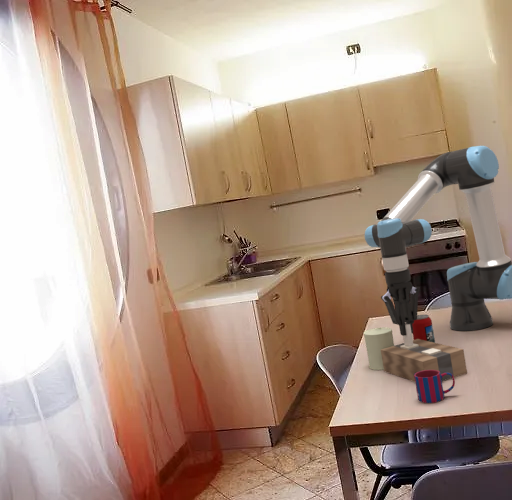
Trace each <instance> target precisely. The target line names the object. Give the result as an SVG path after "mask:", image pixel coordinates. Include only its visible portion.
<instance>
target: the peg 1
mask: <svg viewBox="0 0 512 500" xmlns="http://www.w3.org/2000/svg"><path fill="white" fill-rule="evenodd" d="M415 347H419V345H418V344H413V345H411V346H407V345H402V346H400V348H403V349H407V350H409V349H412V348H415Z"/></svg>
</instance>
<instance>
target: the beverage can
mask: <svg viewBox="0 0 512 500" xmlns="http://www.w3.org/2000/svg"><path fill="white" fill-rule="evenodd" d="M412 326H413V333H412V338H413V340H416V339H421V340H425V341H429V342H434V343H436V340H435V334H434V328H433V327H434V326H433V322H432V318H431V317H430V315H428V314H417V320H414V323H413V324H412Z"/></svg>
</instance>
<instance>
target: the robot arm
mask: <svg viewBox="0 0 512 500" xmlns="http://www.w3.org/2000/svg"><path fill="white" fill-rule="evenodd" d="M499 169H500V166H499V160H498V158H497V155H496V154H495V152H494V151H493V150H492V149H490V147H488V146H487V145H476V146H470V147H465V148H462V149H457V150H453V151H448V152H447V151H446V152H444V153H442V154H440V155H439V156H438V157H435V159H433V160H432V161H431V162H429V164H427V165H426V166H425V167H424V168H423V169H422V170H421V171H420V172H419V174H418V176H417V180H416V181H415V182H414V184H413V185H412V186H411V187H410V188H409V189H408V190H407V191H406V192H405V194H404V195H403V196H402V197H401V198H400V199H399V200H398V202H396V204H395V205H394V206H393V207H392V208H391V209H389V212H387V214H386V215H385V216H384V217H382V219H381V220H380V221H378V222H377V223H376V224H373V225H369V226H368V227H367V228H366V229H365V231H364V241H365V242H366V244H367V245H368V246H369V247H371V248H380V253H381V258H382V259H381V261H382V265H383V270H384V271H385V272H384V278H385V279H384V280H385V283H386V293H385V294H384V295H381V296H380V299H381V300H382V302H383V303H384V305H385V307H386V309H387V312H388V314H389V317H390V319H391V322H392V324H394V325H398V326H399V334H400V335H401V336H402V338H403V343H404V345H407V346H411V345H413V340H414V339H413V326H412V324H413V323H414V320H417V315H418V307H419V295H420V294H419V293H420V291H421V289H420V288H419V287H414V286H413V284H412V281H411V279H412V277H411V273H410V272H411V271H410V269H409V259H408V253H407V248H408V247H411V246H416V245H419V244H421V245H422V244H423V243H425V242H428V241H429V240H430V239H431V237H432V234H433V232H432V227H431V224H430V223H429V222H428V221H427V219H423V218H419V219H418V218H417V219H414V218H415V217H416V216H417V215H418V213H419V212H420V211H421V210H422V208H423V207H425V205H426V204H427V203H428V202H429V201H430V199H432V197H433V196H434V195H435V194H439V193H441V192H442V190H443V189H444V188H446V187H448V186H449V187H450V186H452V185H458V188H459V191H460V192H462V193H463V194H465V200H466V203H467V207H468V208H467V209H468V214H469V217H470V221H471V226H472V231H473V235H474V240H475V245H476V249H477V254H478V258H479V260H478V261H473V262H468V263H463V264H459V265H455V266H451V267H450V268H448V269H447V271H446V276H447V278H446V281H447V285H448V292H449V297H450V302H451V304H450V305H451V312H450V319H449V326H450V329H451V330H453V331H459V332H462V331H463V332H465V331H466V332H467V331H477V330H482V329H486V328H489V327H491V326H492V325H494V321H493V317H492V315H491V312H490V311H489V309H488V307H487V305H486V303H485V299H486V300H500V301H501V300H510V299H512V258H511V257H510V256H508V255H507V254H506V253H505V246H504V242H503V238H502V232H501V228H500V224H499V219H498V215H497V214H498V213H497V208H496V204H495V201H494V196H493V191H492V187H493V185H494V184H495V178H496V177H497V176H498V174H499Z"/></svg>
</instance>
